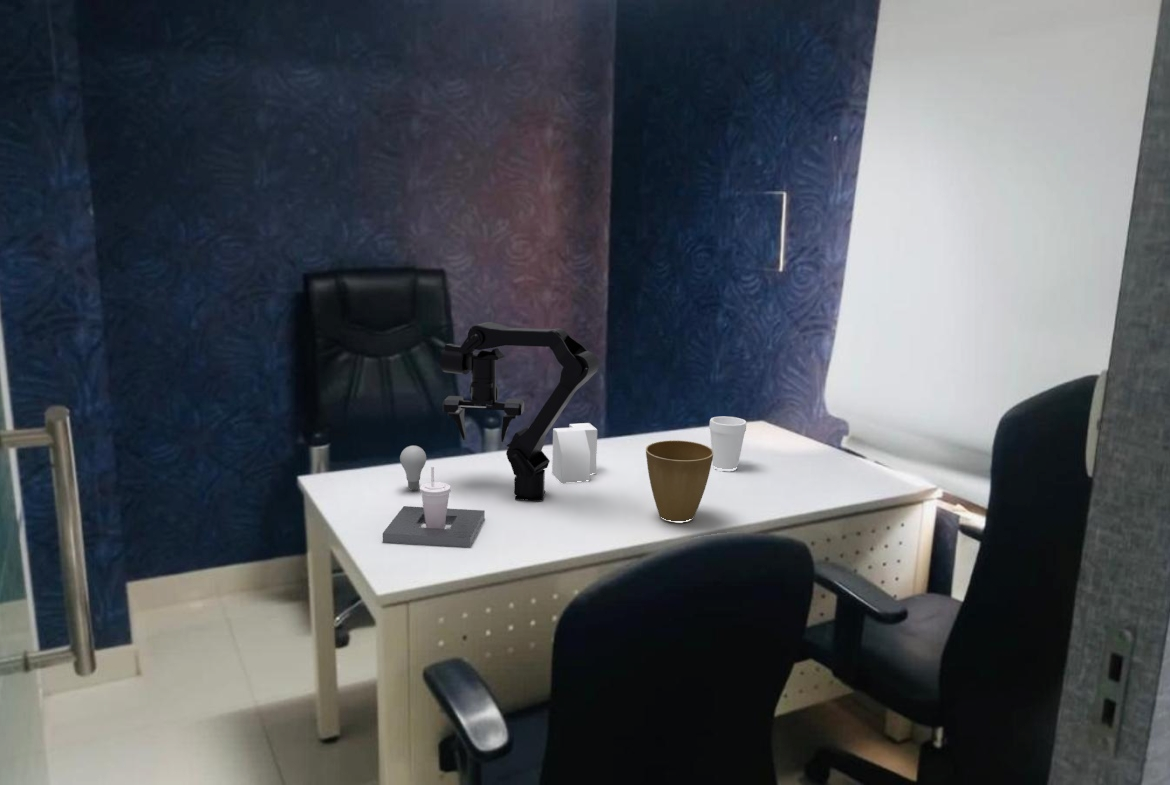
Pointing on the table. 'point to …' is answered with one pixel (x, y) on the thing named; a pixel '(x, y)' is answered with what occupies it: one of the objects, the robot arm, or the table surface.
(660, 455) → the plant pot
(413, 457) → the lightbulb
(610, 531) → the table surface
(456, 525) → the square plate with hole
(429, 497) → the smoothie
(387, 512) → the table surface
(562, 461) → the white block
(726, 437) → the foam cup
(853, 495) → the table surface
